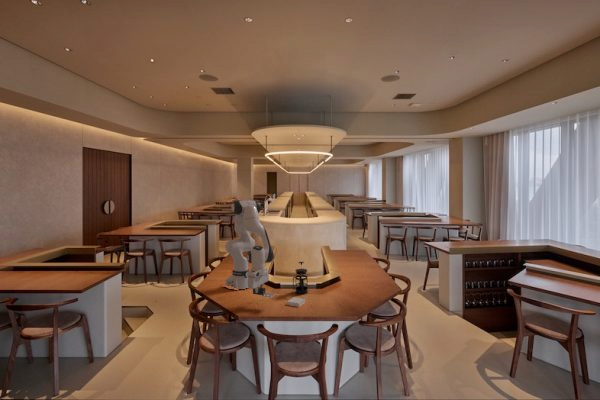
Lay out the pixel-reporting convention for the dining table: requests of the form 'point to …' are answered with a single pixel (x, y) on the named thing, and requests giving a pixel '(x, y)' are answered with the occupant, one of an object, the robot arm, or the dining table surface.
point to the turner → (263, 292)
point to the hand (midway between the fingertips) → (259, 291)
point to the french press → (301, 281)
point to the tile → (296, 302)
